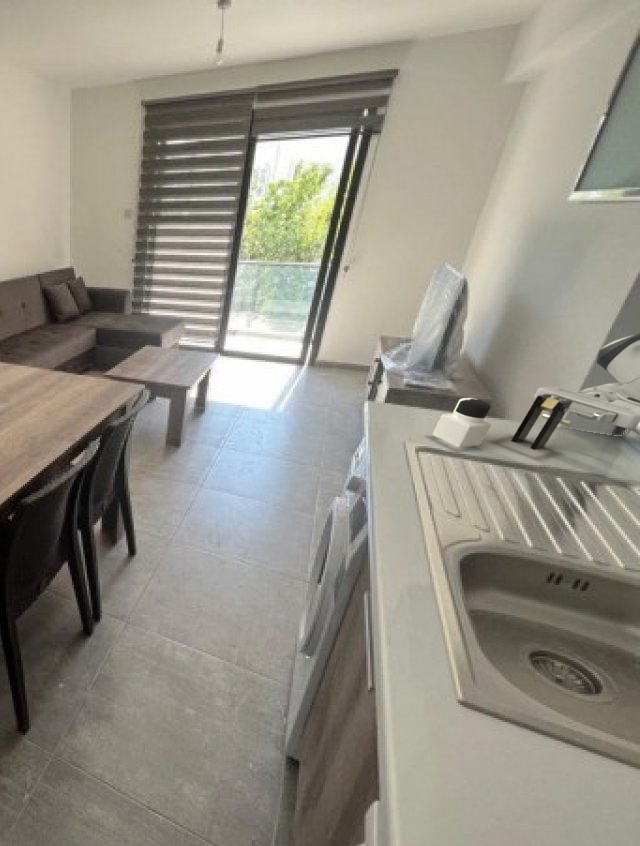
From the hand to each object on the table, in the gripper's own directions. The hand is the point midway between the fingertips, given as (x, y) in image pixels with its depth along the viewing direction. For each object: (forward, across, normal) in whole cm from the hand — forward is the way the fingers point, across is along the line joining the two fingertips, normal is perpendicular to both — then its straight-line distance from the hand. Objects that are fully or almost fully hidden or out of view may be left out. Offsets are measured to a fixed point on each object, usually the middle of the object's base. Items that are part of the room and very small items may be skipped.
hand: (572, 409), depth 123 cm
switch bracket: (+15, 0, +8) cm, 18 cm away
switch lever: (+12, 0, 0) cm, 12 cm away
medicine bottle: (+31, -8, +9) cm, 33 cm away
